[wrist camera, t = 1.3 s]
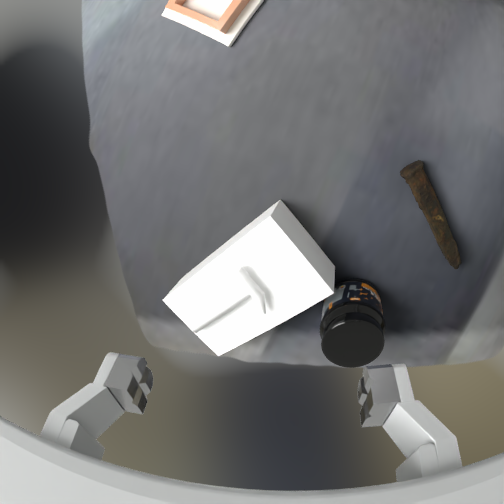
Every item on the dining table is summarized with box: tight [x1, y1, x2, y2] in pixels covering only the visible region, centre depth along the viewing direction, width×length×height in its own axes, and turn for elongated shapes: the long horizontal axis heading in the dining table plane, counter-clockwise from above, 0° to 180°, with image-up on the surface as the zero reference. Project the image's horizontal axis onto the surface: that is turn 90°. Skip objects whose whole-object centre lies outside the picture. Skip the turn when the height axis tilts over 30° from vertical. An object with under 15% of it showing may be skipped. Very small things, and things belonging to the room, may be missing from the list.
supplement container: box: [320, 278, 386, 367], centre depth 48 cm, size 10×10×12 cm
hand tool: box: [400, 160, 461, 269], centre depth 42 cm, size 19×4×5 cm, turn 34°
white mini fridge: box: [163, 199, 335, 356], centre depth 51 cm, size 14×25×11 cm, turn 132°
